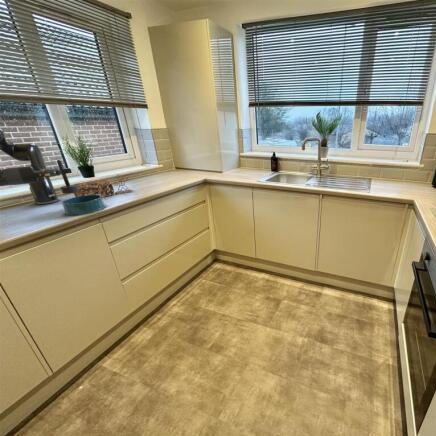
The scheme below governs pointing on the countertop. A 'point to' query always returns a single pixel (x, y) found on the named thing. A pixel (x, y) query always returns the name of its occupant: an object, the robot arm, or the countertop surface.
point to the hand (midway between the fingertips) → (70, 170)
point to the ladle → (66, 182)
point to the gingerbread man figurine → (122, 187)
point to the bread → (94, 188)
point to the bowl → (83, 204)
